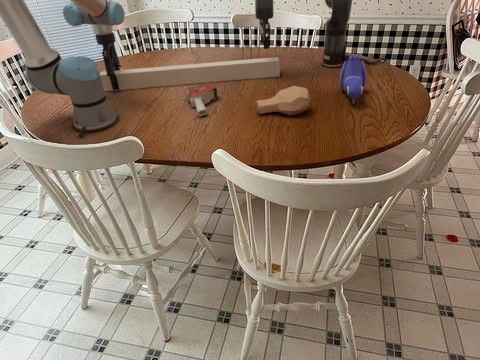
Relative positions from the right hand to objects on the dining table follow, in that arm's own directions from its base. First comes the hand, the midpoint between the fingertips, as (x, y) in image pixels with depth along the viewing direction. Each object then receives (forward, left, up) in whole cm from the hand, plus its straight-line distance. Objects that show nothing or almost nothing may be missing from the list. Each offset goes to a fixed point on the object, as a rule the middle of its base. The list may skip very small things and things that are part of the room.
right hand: (264, 45), depth 156 cm
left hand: (+66, -14, -12) cm, 68 cm away
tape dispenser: (+35, +19, -13) cm, 42 cm away
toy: (-22, +37, -13) cm, 45 cm away
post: (+33, -7, -13) cm, 36 cm away
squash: (+7, +39, -13) cm, 42 cm away
